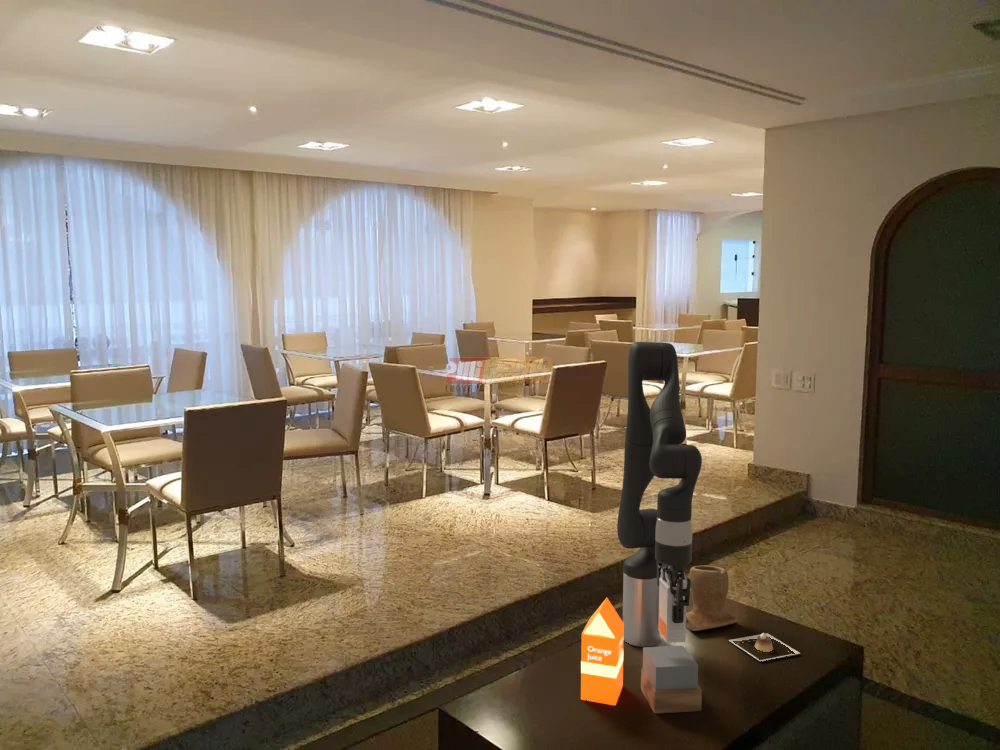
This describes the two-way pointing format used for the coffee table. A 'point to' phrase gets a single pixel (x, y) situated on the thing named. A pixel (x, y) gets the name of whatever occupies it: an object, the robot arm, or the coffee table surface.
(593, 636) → the orange juice
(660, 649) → the gray top block
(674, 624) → the skincare box
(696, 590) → the stone cup
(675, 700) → the walnut base block
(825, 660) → the coffee table surface
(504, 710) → the coffee table surface
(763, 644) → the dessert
